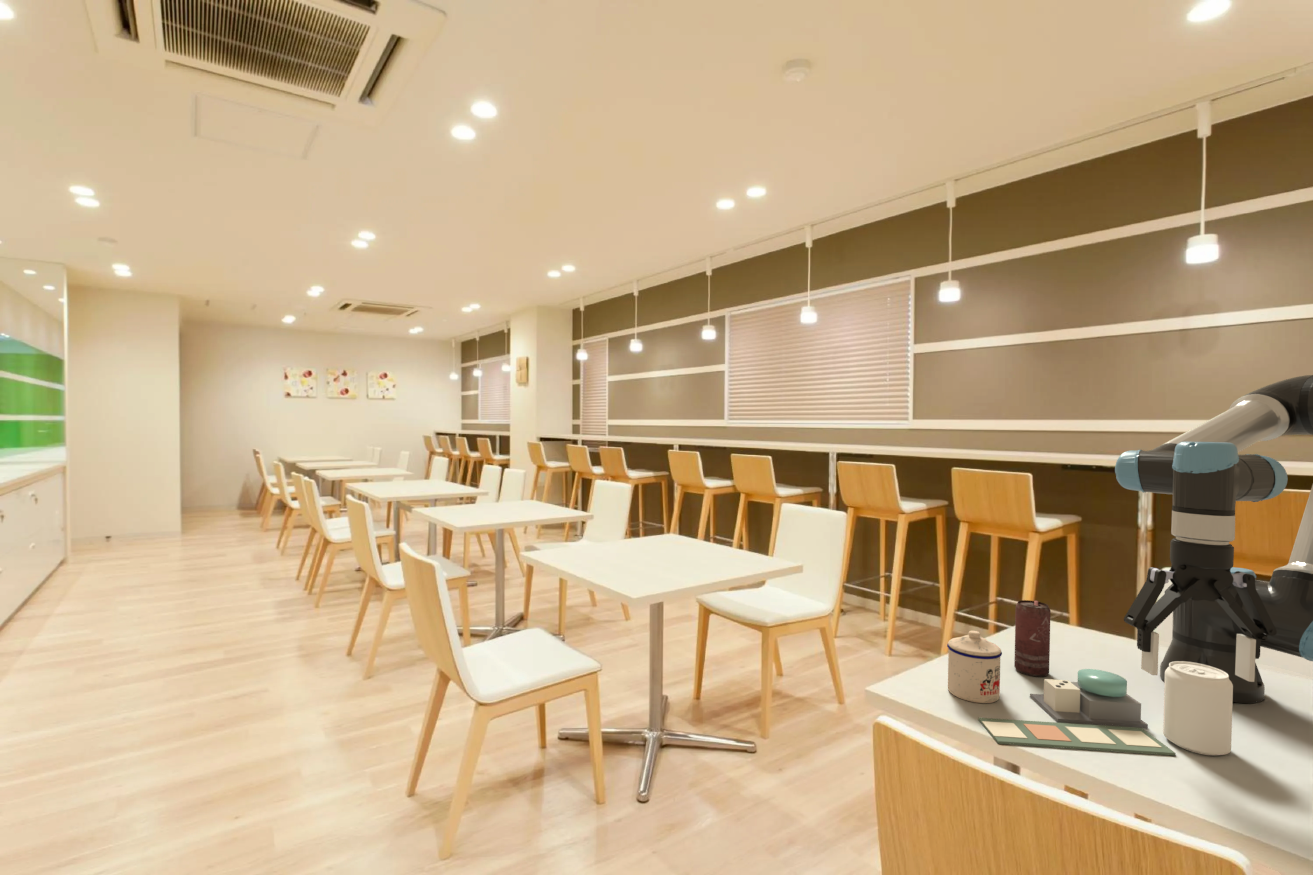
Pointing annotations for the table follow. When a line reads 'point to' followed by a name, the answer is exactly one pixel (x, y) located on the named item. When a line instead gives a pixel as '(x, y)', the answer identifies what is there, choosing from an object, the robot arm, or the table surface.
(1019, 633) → the can
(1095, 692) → the dome cap
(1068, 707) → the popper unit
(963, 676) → the teacup with lid
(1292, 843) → the table surface
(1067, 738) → the track
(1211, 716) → the beverage can
